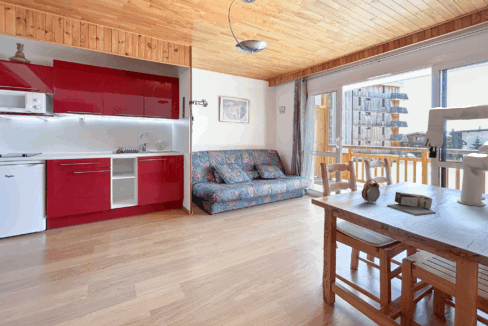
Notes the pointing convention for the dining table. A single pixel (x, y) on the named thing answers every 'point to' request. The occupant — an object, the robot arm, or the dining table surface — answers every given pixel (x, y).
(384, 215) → the dining table surface
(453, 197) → the dining table surface
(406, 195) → the coffee box
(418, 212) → the mat
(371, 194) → the alarm clock
